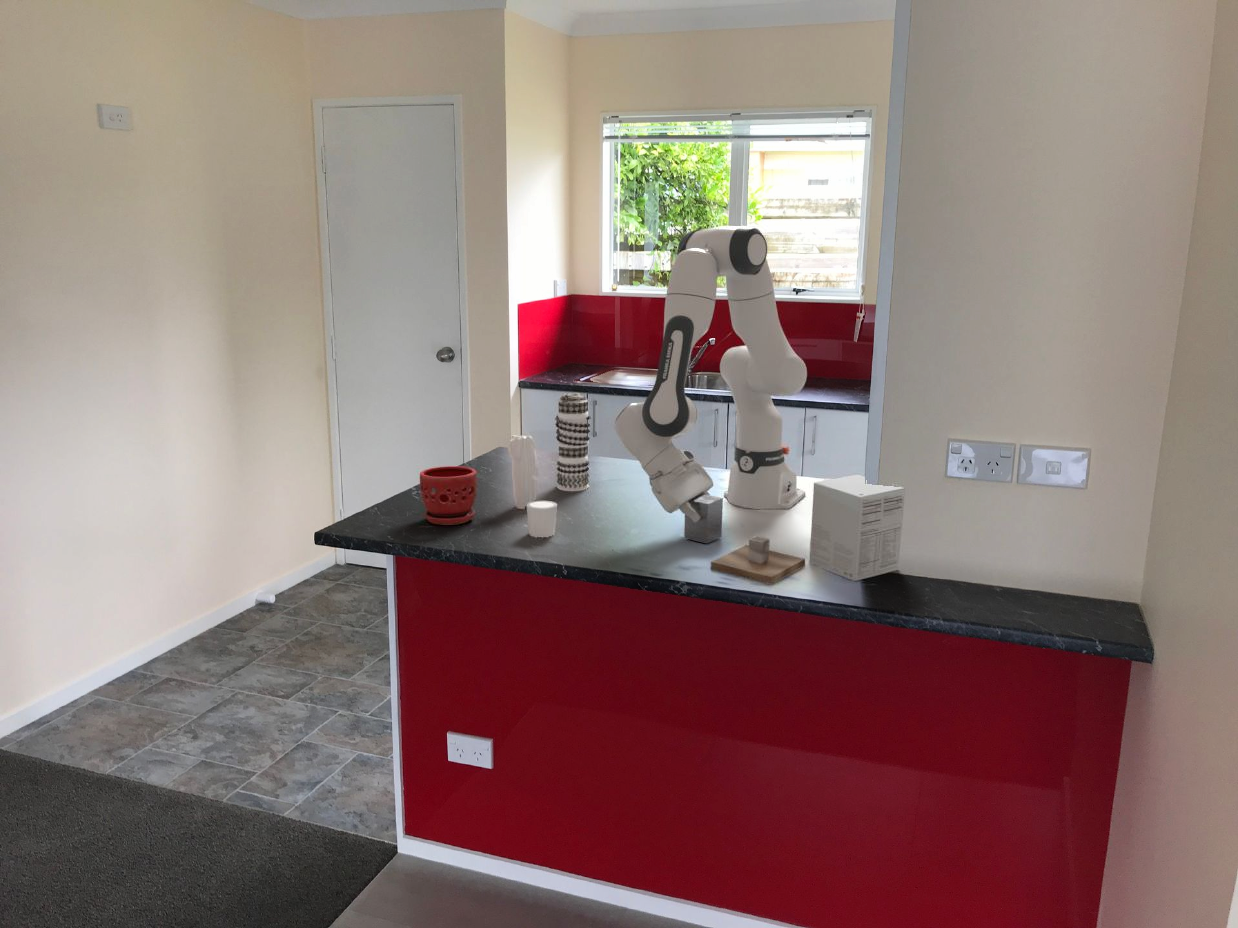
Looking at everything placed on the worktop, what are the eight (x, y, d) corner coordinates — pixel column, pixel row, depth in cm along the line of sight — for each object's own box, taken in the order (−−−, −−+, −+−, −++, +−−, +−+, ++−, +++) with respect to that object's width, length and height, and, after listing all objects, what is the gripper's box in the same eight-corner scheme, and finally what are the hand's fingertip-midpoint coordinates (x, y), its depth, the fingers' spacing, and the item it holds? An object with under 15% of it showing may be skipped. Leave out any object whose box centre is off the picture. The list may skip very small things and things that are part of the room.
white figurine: (513, 511, 236) (542, 509, 238) (511, 439, 232) (541, 437, 234) (506, 504, 242) (535, 501, 244) (504, 434, 238) (533, 432, 240)
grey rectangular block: (699, 531, 221) (700, 493, 219) (721, 536, 217) (722, 498, 215) (684, 538, 216) (685, 499, 214) (706, 543, 213) (707, 504, 211)
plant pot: (489, 519, 230) (487, 470, 227) (444, 531, 220) (442, 480, 217) (454, 508, 238) (453, 461, 235) (410, 519, 229) (408, 470, 226)
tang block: (746, 551, 209) (747, 524, 207) (804, 565, 200) (806, 537, 199) (710, 568, 198) (711, 540, 197) (771, 584, 190) (772, 555, 188)
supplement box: (900, 570, 198) (907, 487, 194) (854, 582, 191) (860, 496, 187) (852, 552, 209) (858, 473, 205) (807, 562, 202) (812, 481, 198)
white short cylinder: (533, 540, 215) (533, 509, 213) (522, 531, 221) (521, 502, 219) (562, 536, 218) (562, 506, 216) (550, 527, 224) (549, 498, 222)
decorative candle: (570, 480, 265) (569, 390, 259) (597, 486, 260) (597, 393, 254) (548, 487, 258) (547, 394, 252) (576, 493, 253) (575, 398, 247)
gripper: (655, 469, 207) (696, 519, 205) (694, 449, 224) (732, 496, 222) (636, 486, 210) (676, 536, 208) (676, 466, 228) (714, 512, 225)
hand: (706, 515), depth 215 cm, fingers closed on grey rectangular block, 6 cm apart
